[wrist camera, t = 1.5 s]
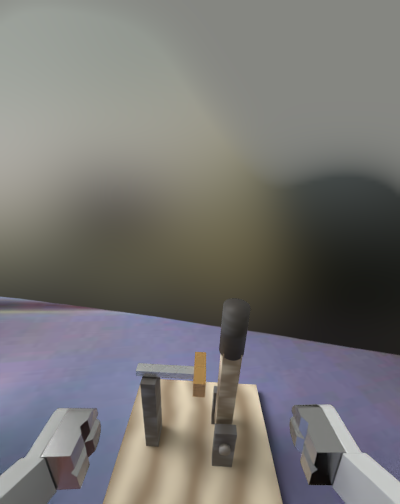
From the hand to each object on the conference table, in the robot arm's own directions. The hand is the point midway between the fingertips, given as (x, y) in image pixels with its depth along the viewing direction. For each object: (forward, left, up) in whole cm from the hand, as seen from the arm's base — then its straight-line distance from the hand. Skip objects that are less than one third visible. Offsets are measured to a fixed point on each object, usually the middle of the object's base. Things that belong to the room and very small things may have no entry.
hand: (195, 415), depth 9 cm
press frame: (0, +16, -34) cm, 37 cm away
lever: (+4, +16, -27) cm, 31 cm away
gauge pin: (-4, +15, -18) cm, 24 cm away
